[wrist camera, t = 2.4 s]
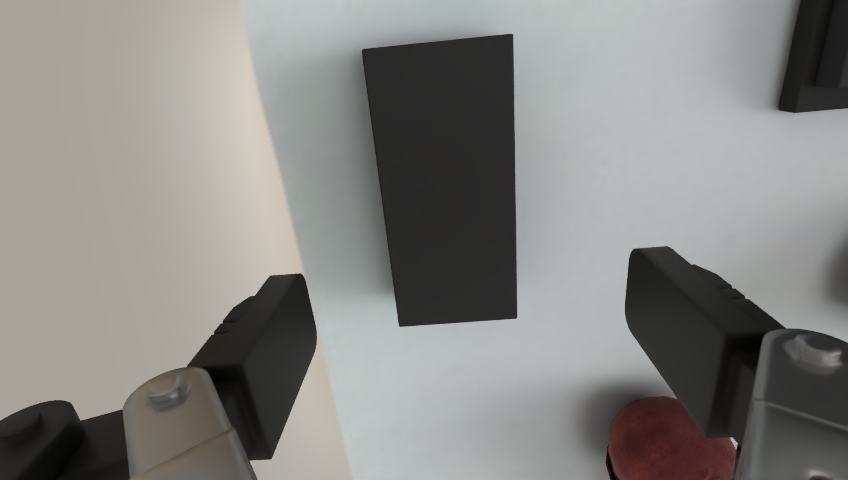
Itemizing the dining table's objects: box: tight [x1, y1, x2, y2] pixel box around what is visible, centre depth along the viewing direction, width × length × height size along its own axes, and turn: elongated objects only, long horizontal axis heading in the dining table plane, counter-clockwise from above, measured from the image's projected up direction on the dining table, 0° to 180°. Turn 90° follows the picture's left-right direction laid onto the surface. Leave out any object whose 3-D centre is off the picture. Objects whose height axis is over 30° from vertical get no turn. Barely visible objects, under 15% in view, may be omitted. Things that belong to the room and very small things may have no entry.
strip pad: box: [362, 34, 517, 327], centre depth 20 cm, size 12×6×3 cm, turn 5°
